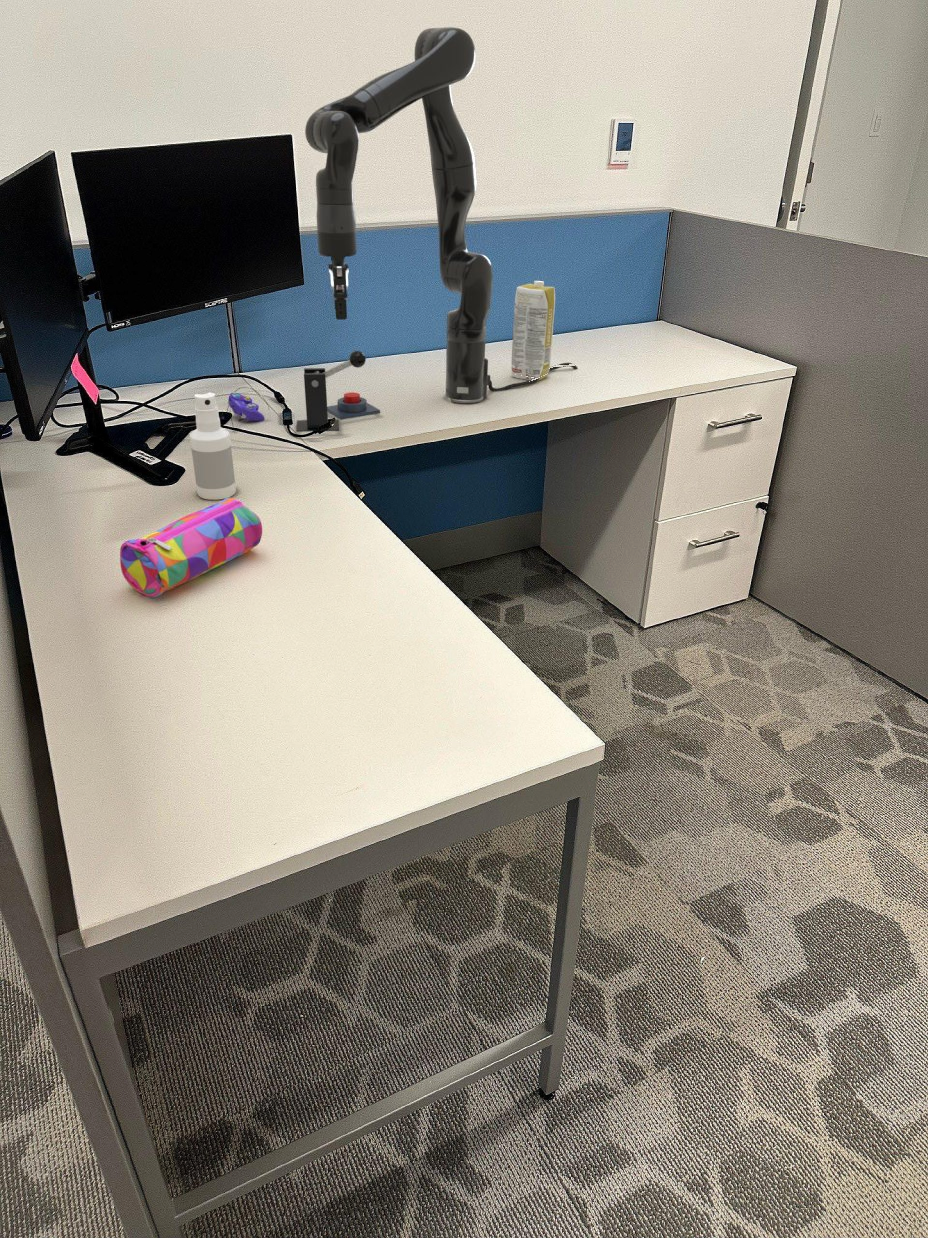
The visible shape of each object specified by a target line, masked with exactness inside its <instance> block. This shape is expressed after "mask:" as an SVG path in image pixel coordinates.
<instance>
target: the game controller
mask: <svg viewBox="0 0 928 1238" xmlns="http://www.w3.org/2000/svg"><path fill="white" fill-rule="evenodd" d="M240 389H248V387H247V386H242V387H239V388H237V389H236V390H235V391H233V392H230V394H229V396H228V398H227V404H228V405H227V410H226V413H225V415H228V411H229V409H232V412H233V413H234V414H235V415H238V416H240V417H241V418H240V419H239V420H238V422H240V421H241V420H244V421H248V420H251V421H253V422H262V421H265V416H264V415H263V413H262V412H261V411H259V408H260V405H259V404H257V403H255V402H253V399H252V398H251V397H249V396H246V395H242V394H241V393H239V392H237V391H239V390H240ZM249 389H250V390H253V391H254V392H256V393H257V394H259V392H258V391H257V390H255V389H254V388H251V387H249ZM263 400H264V401H265V403H266V405H267V408H268V409H270V407H269V404H268V402H267V400H266V399H265V398H263ZM232 412H229V415H230V416H232V414H231V413H232ZM221 420H225V417H224V415H221ZM230 420H231V424H232V426H234V423H233V418H232V417H230Z"/></svg>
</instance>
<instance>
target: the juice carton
mask: <svg viewBox="0 0 928 1238" xmlns="http://www.w3.org/2000/svg"><path fill="white" fill-rule="evenodd" d="M544 285H545V281H541V280H533V284H532V283H526V284H522V285H519V286H516V291H515V296H514V307H513V309H514V310H513V327H512V345H511V346H512V347H511V361H510V362H511V376H512V377H513V378H516V379H520V380H525V381H529V380H532V379H535V378H538V379H539V380H538V381H537V382H539V381H542V380H544V379H546V378H548V376H549V373H550V371H549V368H550V367H551V361H552V360H551V359H552V347H553V346H552V345H553V334H554V322H555V308H556V288H555V287H554V286H544ZM548 372H549V373H548ZM547 373H548V374H547ZM515 374H516V375H515ZM545 374H547V375H545ZM521 375H522V376H521ZM543 375H545V376H543ZM526 376H528V377H526ZM541 376H542V377H541ZM531 377H534V378H531ZM539 377H540V378H539Z"/></svg>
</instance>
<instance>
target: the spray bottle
mask: <svg viewBox="0 0 928 1238" xmlns="http://www.w3.org/2000/svg"><path fill="white" fill-rule="evenodd" d="M193 396H194V403H195V404H194V405H195V406H194V414H195V425H196V429H194V430H192V431H191V433H189V442H190V447H191V448H190V449H191V456H192V457H191V458H192V464H193V472H194V478H195V479H194V480H195V486H196V492H197V495H198V497H200V498H202V499H204V500H210V501H211V500H212V501H213V500H215V501H216V500H224V499H226V498H231V497H232V496H234V495H235V494H236V492H237V487H236V479H235V468H234V459H233V450H232V443H231V435H230V432H229V431H228V430H227V429H226V428H223V427H222V426H221V418H220V415H219V407H218V405H217V401H216V394H215V393H214V392H207V393H203V394H200V393H199V394H198V393H195V394H194V395H193Z"/></svg>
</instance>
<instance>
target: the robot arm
mask: <svg viewBox="0 0 928 1238" xmlns="http://www.w3.org/2000/svg"><path fill="white" fill-rule="evenodd" d="M413 56H414V61H412V62H410V63H408V64H406V65H403V66H401V67H397V68H396V69H393V70H390V71H388V72H385V73H383V74H380V75H379V76H376V77H375V78H373V79H371V80H370V81H368V82H367V83H365V84H363V85H362V86H361V87H359V88H357V89H356V90H354V91H353V92H352V93H351V94H349V95H347V96H345V97H342V98H339V99H337V100H335V101H332V102H330V103H327V104H325V105H324V106H321V107H320V108H318V109H317V110H315V111H314V112H313V113H312V114H311V115H310V116H309V117H308V119H307V121H306V123H305V129H304V135H305V139H306V141H307V143H308V145H309V146H310V147H311V148H312V149H313V150H315V151H316V152H318V153H322V154H326V161H325V166H324V168H321V169H319V170H318V171H317V172H316V175H315V193H316V231H317V248H318V253H319V255H320V256H323V257H330V261H331V263H328V264H327V265H328V276H329V280H330V289H331V290H333V302H334V303H333V304H334V310H335V311H334V312H335V319H336V320H338V321H339V320H343V321H344V320H347V319H348V311H347V309H348V308H347V299H348V296H349V295H348V293H347V292H348V289H349V276H350V271H349V270H350V267H349V264H348V263H345V258H347V257H350V258H351V257H353V256H356V255H357V253H358V247H357V245H358V244H357V223H356V220H357V219H356V211H355V204H354V184H353V183H354V182H353V179H354V176H355V175H354V174H355V171H356V164H357V159H358V153H359V147H360V146H359V145H360V134H365V133H369V132H372V131H373V130H375V129H377V128H378V127H380V126H381V125H383V124H384V123H385V122H387V121H388V120H390V119H391V118H393V117H394V116H395V115H397V114H398V113H400V112H401V111H403V110H405V109H406V108H407V107H409V106H411V105H412V104H414V103H415V102H416V103H417V101H419V100H421V102H422V107H423V111H424V117H425V124H426V131H427V132H426V133H427V138H428V146H429V153H430V166H431V173H432V181H433V182H432V183H433V189H434V196H435V206H436V215H437V226H438V227H437V228H438V246H439V247H438V249H439V251H438V252H439V256H438V257H439V275H440V279H441V282H442V285H443V287H444V288H445V289H446V290H447V291H449V292H451V293H454V294H458V295H460V304H459V306H458V308H456V309H452V310H450V311H449V312H448V313H447V315H446V350H445V351H446V352H445V393H444V397H445V398H449V400H450V402H451V403H456V404H474V403H475V404H476V403H480V402H482V401H484V400H486V399H488V398H487V397H488V390H490V391H491V392H502V391H507V390H510V389H513V388H514V389H515V388H520V387H524V386H529V385H532V384H535V383H536V382H539V381H540V380H539V379H536V380H533V381H531V380H525V381H521V382H515V383H510V384H508V385H505V386H502V387H497V388H496V387H493V382H492V380H491V375H490V374H489V372H488V371H489V360H488V358H487V357H486V339H487V338H486V337H487V336H486V335H487V334H486V333H487V319H488V318H489V315H490V311H491V303H492V292H493V291H492V290H493V280H494V279H493V278H494V276H493V275H494V273H493V266H492V262H491V261H490V259H489V258H488V257H487V256H486V255H484V254H481V253H477V252H471V251H468V248H467V241H466V240H467V239H466V223H467V218H468V214H469V212H470V210H471V207H472V205H473V201H474V199H475V196H476V191H477V175H476V164H475V162H476V161H475V155H474V154H475V153H474V150H473V148H472V144H471V142H470V140H469V138H468V136H467V134H466V132H465V130H464V127H463V126H462V124H461V122H460V120H459V118H458V117H457V113H456V111H455V107H454V103H453V99H452V98H453V97H452V91H451V85H453V84H455V83H458V82H461V81H463V80H465V79H466V78H467V77H468V76H469V75H470V73H471V72H472V71H473V68H474V65H475V62H476V47H475V43H474V40H473V39H472V36H471V35H470V34H469V33H468V32H467V31H466V30H465V29H462V28H459V27H453V26H449V27H448V26H447V27H430V28H425V29H423V30H422V31H421V32H420V33H419V35H418V36H417V37H416V41H415V45H414V55H413ZM569 364H573V363H572V362H563V363H559V364H558V365H569ZM574 365H575V364H574ZM552 367H553V366H552ZM564 367H566V366H563V367H553V368H550V369H549V372H550V371H555V370H558V369H560V368H564ZM569 367H571V368H573V370H578V369H579V368H578V366H576V365H575V366H569ZM538 380H539V381H538ZM529 381H530V382H529Z"/></svg>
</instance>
